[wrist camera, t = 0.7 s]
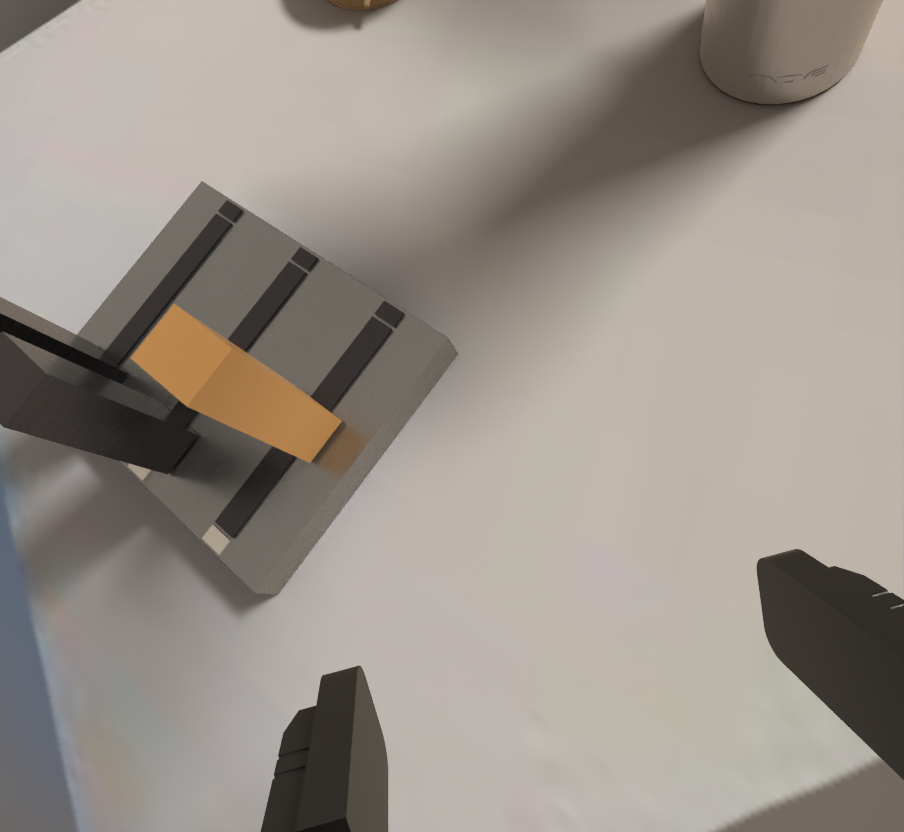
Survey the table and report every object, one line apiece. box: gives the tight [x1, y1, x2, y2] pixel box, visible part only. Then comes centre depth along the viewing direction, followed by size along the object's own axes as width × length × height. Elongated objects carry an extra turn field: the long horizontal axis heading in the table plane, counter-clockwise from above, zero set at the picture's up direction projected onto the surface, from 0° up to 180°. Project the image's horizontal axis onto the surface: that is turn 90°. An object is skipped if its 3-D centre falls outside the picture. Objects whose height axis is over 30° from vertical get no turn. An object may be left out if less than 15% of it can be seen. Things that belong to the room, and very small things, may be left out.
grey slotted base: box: [0, 182, 458, 594], centre depth 36 cm, size 18×23×14 cm
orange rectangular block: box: [131, 304, 342, 463], centre depth 32 cm, size 3×4×11 cm
